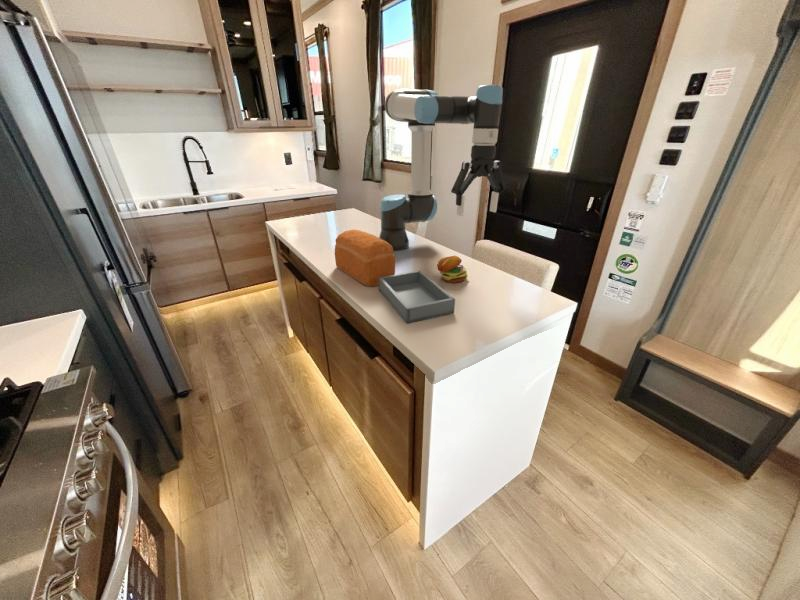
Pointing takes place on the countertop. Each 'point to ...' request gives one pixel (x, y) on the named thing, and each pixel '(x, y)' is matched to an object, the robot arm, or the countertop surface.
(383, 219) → the robot arm
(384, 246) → the bread
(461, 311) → the countertop surface
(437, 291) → the box
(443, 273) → the cheeseburger
